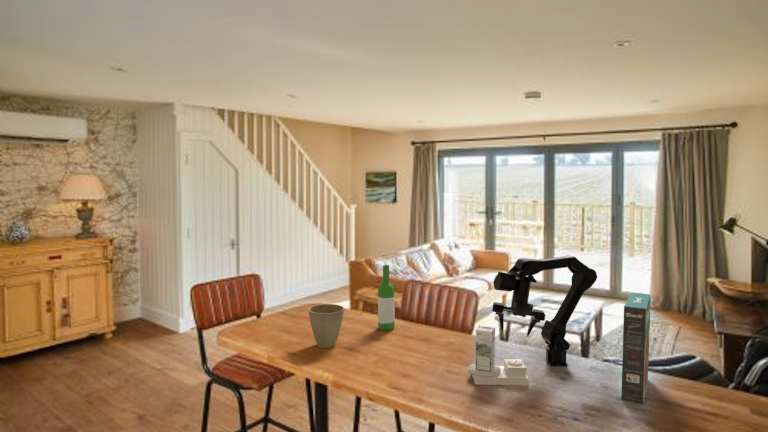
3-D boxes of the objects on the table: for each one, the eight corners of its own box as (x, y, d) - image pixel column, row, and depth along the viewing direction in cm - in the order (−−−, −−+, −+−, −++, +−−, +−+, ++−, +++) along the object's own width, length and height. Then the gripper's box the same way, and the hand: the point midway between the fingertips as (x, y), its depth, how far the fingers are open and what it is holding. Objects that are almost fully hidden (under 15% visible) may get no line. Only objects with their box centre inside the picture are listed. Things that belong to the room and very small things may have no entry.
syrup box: (495, 366, 173) (495, 326, 172) (491, 372, 168) (491, 331, 167) (479, 364, 175) (479, 324, 174) (474, 370, 170) (475, 329, 169)
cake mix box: (642, 404, 151) (645, 308, 149) (621, 399, 154) (624, 306, 152) (648, 379, 170) (650, 294, 168) (628, 376, 173) (631, 292, 171)
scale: (521, 372, 176) (521, 356, 176) (528, 385, 165) (528, 368, 165) (466, 371, 177) (466, 355, 177) (470, 384, 167) (470, 367, 166)
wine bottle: (394, 331, 227) (394, 267, 225) (377, 331, 227) (377, 267, 225) (394, 326, 234) (394, 264, 232) (378, 326, 235) (377, 264, 233)
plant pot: (302, 348, 203) (301, 311, 202) (319, 338, 217) (319, 302, 216) (334, 353, 197) (333, 314, 196) (350, 342, 211) (349, 305, 210)
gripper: (495, 291, 175) (489, 334, 176) (549, 301, 171) (542, 344, 172) (495, 286, 186) (489, 327, 187) (546, 295, 182) (539, 336, 183)
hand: (514, 333), depth 182 cm, fingers open, 9 cm apart
